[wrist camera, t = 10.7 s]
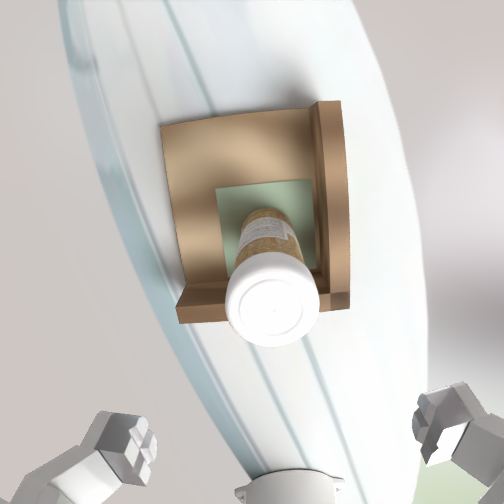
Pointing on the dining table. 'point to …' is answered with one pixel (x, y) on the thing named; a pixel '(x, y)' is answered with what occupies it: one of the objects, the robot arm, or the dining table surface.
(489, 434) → the robot arm
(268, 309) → the sprinkles bottle
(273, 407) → the dining table surface
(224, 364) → the dining table surface
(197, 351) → the dining table surface
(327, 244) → the corner arena
